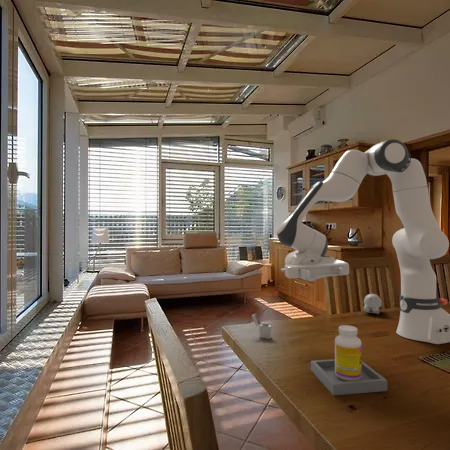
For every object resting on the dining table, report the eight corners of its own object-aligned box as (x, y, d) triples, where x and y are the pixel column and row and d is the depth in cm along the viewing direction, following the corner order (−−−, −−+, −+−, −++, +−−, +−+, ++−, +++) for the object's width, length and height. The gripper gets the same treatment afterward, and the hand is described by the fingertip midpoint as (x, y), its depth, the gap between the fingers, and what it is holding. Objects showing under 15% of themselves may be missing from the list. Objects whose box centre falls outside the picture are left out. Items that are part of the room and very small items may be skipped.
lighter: (271, 337, 122) (271, 315, 121) (269, 339, 120) (269, 316, 120) (253, 334, 125) (253, 312, 125) (251, 335, 124) (251, 313, 124)
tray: (357, 366, 97) (357, 357, 97) (387, 390, 83) (387, 380, 83) (310, 370, 95) (310, 360, 95) (333, 395, 81) (333, 384, 81)
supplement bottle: (364, 383, 85) (364, 332, 85) (336, 381, 86) (336, 331, 86) (358, 371, 92) (358, 324, 91) (333, 369, 93) (333, 323, 93)
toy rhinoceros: (384, 317, 154) (385, 298, 156) (378, 313, 145) (380, 293, 147) (367, 314, 158) (369, 296, 161) (360, 310, 149) (363, 291, 152)
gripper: (278, 259, 113) (292, 264, 99) (336, 256, 115) (357, 260, 102) (279, 278, 113) (293, 286, 99) (337, 274, 116) (358, 281, 102)
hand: (326, 273), depth 100 cm, fingers open, 8 cm apart
